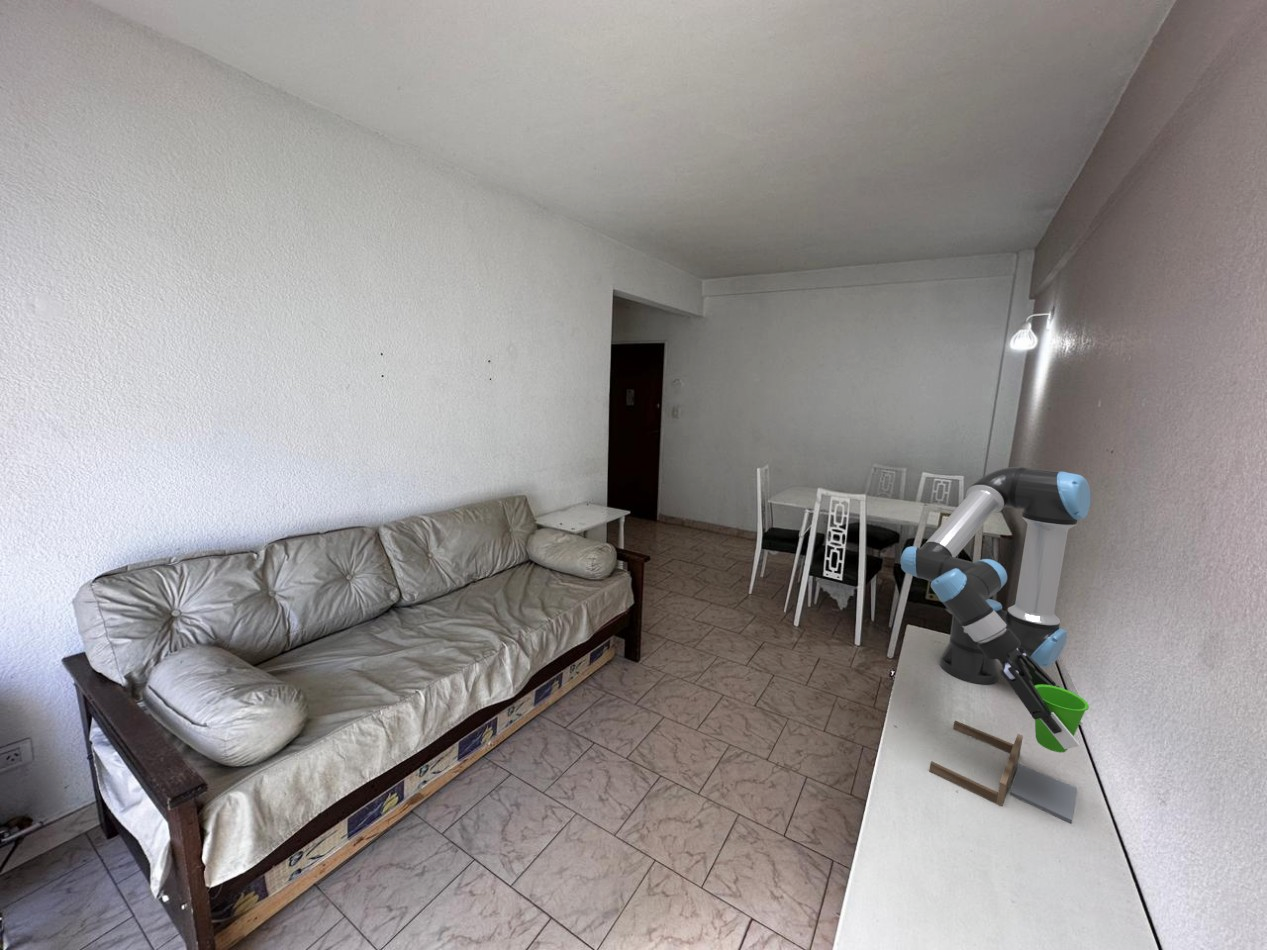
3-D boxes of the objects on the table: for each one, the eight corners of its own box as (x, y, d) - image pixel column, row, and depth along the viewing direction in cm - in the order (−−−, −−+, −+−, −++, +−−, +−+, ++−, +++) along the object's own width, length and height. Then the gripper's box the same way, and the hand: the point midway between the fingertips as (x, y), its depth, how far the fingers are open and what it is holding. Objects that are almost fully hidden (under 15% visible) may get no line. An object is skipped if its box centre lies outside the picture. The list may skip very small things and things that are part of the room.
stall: (954, 727, 128) (956, 709, 127) (1019, 754, 119) (1022, 735, 118) (929, 771, 113) (931, 751, 112) (1002, 806, 103) (1005, 785, 103)
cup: (1014, 735, 108) (1022, 688, 106) (1040, 726, 111) (1048, 680, 109) (1062, 764, 100) (1072, 714, 98) (1089, 753, 103) (1099, 704, 101)
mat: (1018, 766, 115) (1019, 763, 115) (1076, 791, 108) (1077, 788, 108) (1009, 794, 106) (1010, 791, 106) (1071, 823, 100) (1072, 820, 99)
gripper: (986, 627, 121) (1061, 718, 112) (964, 659, 106) (1049, 766, 97) (1016, 613, 116) (1097, 707, 108) (998, 644, 101) (1090, 756, 93)
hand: (1074, 735), depth 103 cm, fingers closed on cup, 9 cm apart
